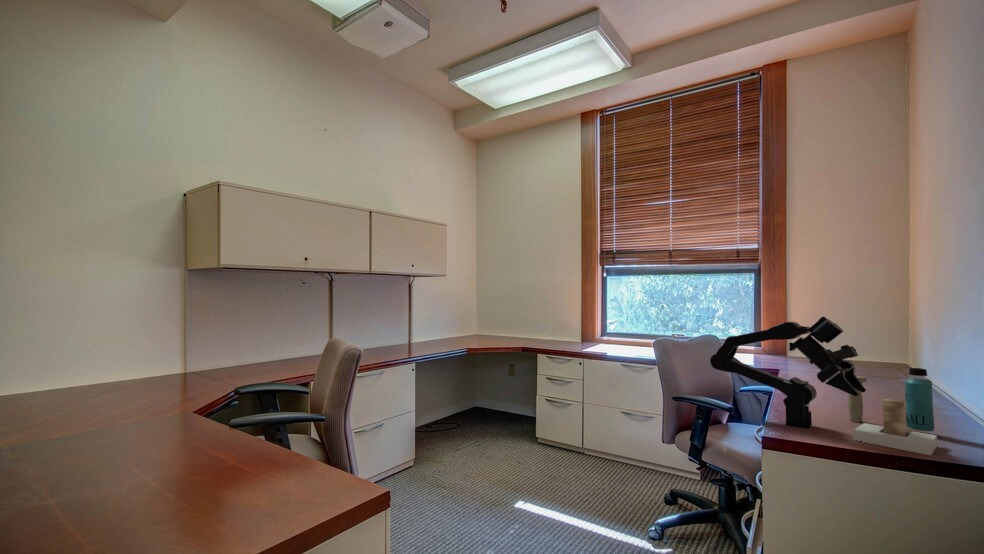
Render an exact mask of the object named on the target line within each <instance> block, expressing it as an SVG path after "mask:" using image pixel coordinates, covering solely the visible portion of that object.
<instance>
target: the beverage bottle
mask: <svg viewBox="0 0 984 554" xmlns="http://www.w3.org/2000/svg"><path fill="white" fill-rule="evenodd" d="M908 375H910V376H917V377H928V371H927V369H926V368H921V367H909V369H908ZM904 384H905V385H904V386H905V387H904V400H905V407H904V410H905V426H906V427H907V428H909V429H911V430H914V431H915V430H916V431H923V432H934V430H935V416H934V415H935V414H934V399H933V395H934V393H933V383H932V382H931V381H929V380H928V379H924V378H914V377H910V378H908V379H906V380H905V381H904Z"/></svg>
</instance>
